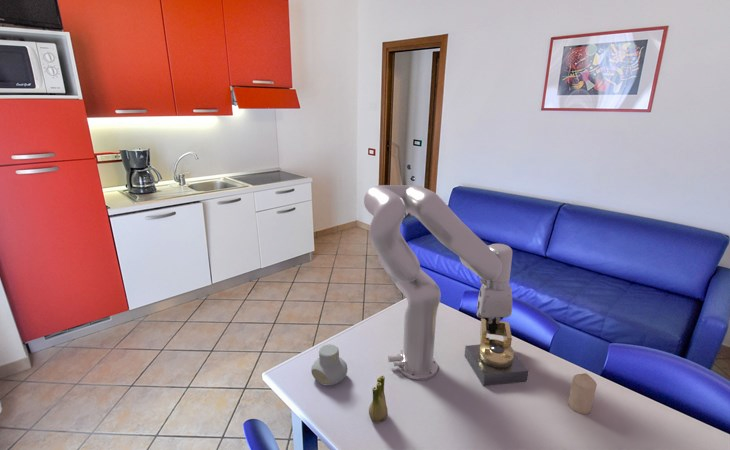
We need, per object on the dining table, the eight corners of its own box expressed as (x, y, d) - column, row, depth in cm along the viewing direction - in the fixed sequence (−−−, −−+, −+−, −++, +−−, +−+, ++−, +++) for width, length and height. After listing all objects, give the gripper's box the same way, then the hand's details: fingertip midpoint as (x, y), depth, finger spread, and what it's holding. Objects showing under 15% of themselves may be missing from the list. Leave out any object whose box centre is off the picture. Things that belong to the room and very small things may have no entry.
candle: (569, 396, 105) (575, 367, 102) (591, 404, 102) (598, 375, 99) (566, 408, 101) (572, 378, 98) (589, 417, 98) (596, 387, 95)
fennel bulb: (374, 428, 94) (375, 391, 91) (363, 416, 98) (363, 379, 95) (392, 418, 98) (393, 381, 94) (380, 406, 102) (381, 370, 98)
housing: (483, 386, 109) (484, 374, 108) (464, 355, 122) (465, 345, 121) (526, 381, 111) (528, 370, 110) (503, 352, 124) (505, 341, 123)
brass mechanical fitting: (514, 370, 109) (516, 355, 108) (479, 364, 112) (481, 349, 110) (508, 335, 126) (510, 322, 124) (478, 331, 128) (479, 318, 127)
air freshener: (307, 377, 112) (305, 349, 109) (325, 363, 119) (324, 336, 116) (334, 393, 106) (333, 364, 103) (352, 377, 112) (351, 349, 109)
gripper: (476, 288, 113) (472, 339, 119) (524, 287, 113) (518, 338, 119) (469, 277, 120) (466, 326, 126) (515, 276, 120) (509, 324, 126)
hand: (491, 331), depth 122 cm, fingers closed
